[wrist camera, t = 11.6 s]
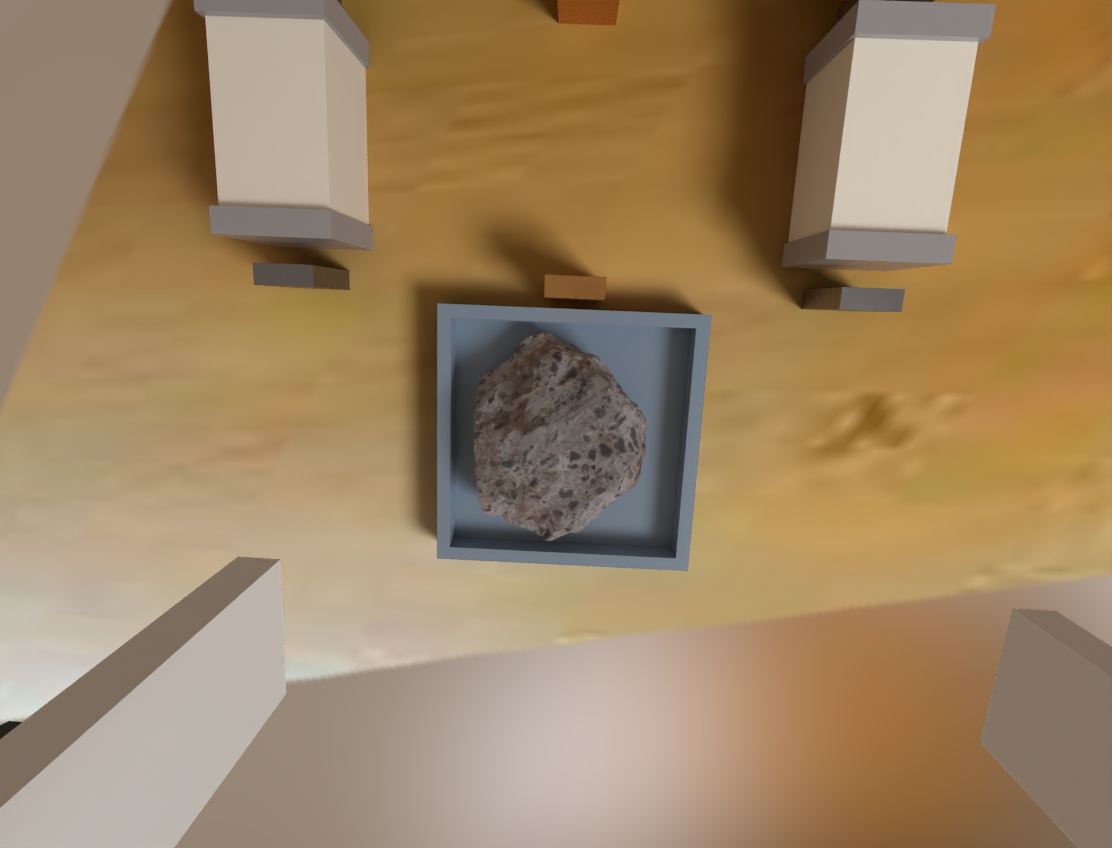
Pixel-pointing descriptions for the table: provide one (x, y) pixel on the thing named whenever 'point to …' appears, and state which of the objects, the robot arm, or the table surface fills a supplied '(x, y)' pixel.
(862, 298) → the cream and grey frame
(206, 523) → the table surface
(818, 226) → the fuse
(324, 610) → the table surface
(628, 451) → the rock
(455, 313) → the tray
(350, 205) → the fuse
